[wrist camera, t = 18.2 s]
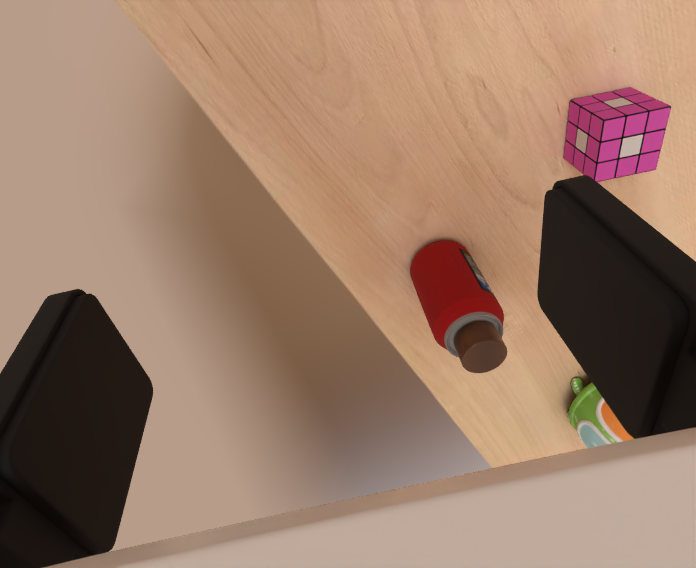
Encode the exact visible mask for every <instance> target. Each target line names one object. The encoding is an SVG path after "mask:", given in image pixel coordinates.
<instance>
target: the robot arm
mask: <svg viewBox="0 0 696 568" xmlns="http://www.w3.org/2000/svg"><path fill="white" fill-rule="evenodd" d="M538 301H539V304H540V307H541V309H542V310H543V312H544V313H545V315H546V316H547V318H548V319H549V321H550V322H551V323H552V325H553V326H554V328H555V329H556V331H557V332H558V334H559V335H560V337H561V338H562V339H563V341H564V342H565V344H566V345H567V347H568V348H569V350H570V351H571V352H572V354H573V355H574V357H575V358H576V360H577V361H578V363H579V364H580V365H581V367H582V368H583V370H584V371H585V373H586V374H587V376H588V377H589V378H590V380H591V381H592V383H593V384H594V386H595V387H596V389H597V390H598V392H599V393H600V394H601V396H602V397H603V399H604V400H605V402H606V403H607V405H608V406H609V407H610V409H611V410H612V412H613V413H614V415H615V416H616V418H617V419H618V420H619V422H620V423H621V425H622V426H623V428H624V429H625V430H626V432H627V433H628V434H629V435H630V436H632V437H639V438H638V439H633V440H628V441H622V442H617V443H612V444H607V445H602V446H597V447H592V448H587V449H582V450H577V451H572V452H568V453H563V454H558V455H553V456H549V457H544V458H539V459H535V460H530V461H525V462H520V463H516V464H511V465H506V466H502V467H497V468H492V469H487V470H483V471H478V472H473V473H468V474H464V475H460V476H454V477H450V478H445V479H440V480H435V481H431V482H427V483H422V484H417V485H412V486H408V487H403V488H399V489H394V490H389V491H384V492H380V493H375V494H371V495H366V496H361V497H357V498H352V499H347V500H343V501H338V502H334V503H329V504H324V505H320V506H315V507H311V508H306V509H301V510H297V511H293V512H288V513H283V514H279V515H274V516H270V517H265V518H260V519H256V520H251V521H246V522H242V523H237V524H233V525H228V526H224V527H219V528H215V529H210V530H206V531H202V532H197V533H192V534H188V535H183V536H179V537H174V538H170V539H165V540H161V541H157V542H152V543H147V544H143V545H138V546H134V547H130V548H125V549H121V550H116V551H111V552H109V551H110V550H111V549H112V548H113V546H114V544H115V541H116V537H117V533H118V529H119V526H120V522H121V517H122V514H123V509H124V506H125V502H126V498H127V494H128V490H129V487H130V483H131V479H132V475H133V471H134V467H135V462H136V459H137V455H138V451H139V447H140V443H141V440H142V436H143V432H144V428H145V424H146V420H147V416H148V412H149V408H150V404H151V400H152V396H153V387H152V383H151V380H150V378H149V377H148V375H147V374H146V372H145V371H144V369H143V368H142V366H141V365H140V363H139V362H138V360H137V359H136V357H135V356H134V354H133V353H132V351H131V349H130V348H129V346H128V345H127V343H126V342H125V340H124V339H123V337H122V336H121V334H120V333H119V331H118V330H117V328H116V327H115V325H114V324H113V322H112V321H111V319H110V318H109V316H108V315H107V313H106V312H105V310H104V309H103V307H102V305H101V304H100V303H99V301H98V299H97V298H96V297H95V296H94V295H92V294H86V293H85V292H84V291H82V290H80V289H76V290H71V291H67V292H62V293H58V294H54V295H50V296H48V297H47V298H46V299H45V301H44V302H43V304H42V306H41V307H40V309H39V311H38V312H37V314H36V315H35V317H34V319H33V320H32V322H31V324H30V325H29V327H28V329H27V330H26V332H25V334H24V335H23V337H22V339H21V340H20V342H19V344H18V345H17V347H16V349H15V350H14V352H13V353H12V355H11V357H10V358H9V360H8V362H7V364H6V365H5V367H4V369H3V370H2V372H1V374H0V568H696V262H695V261H694V260H693V259H692V258H690V257H689V256H688V255H687V254H685V253H684V252H683V251H682V250H680V249H679V248H678V247H677V246H675V245H674V244H673V243H672V242H671V241H669V240H668V239H667V238H666V237H664V236H663V235H662V234H661V233H659V232H658V231H657V230H656V229H654V228H653V227H652V226H651V225H649V224H648V223H647V222H646V221H644V220H643V219H642V218H641V217H640V216H638V215H637V214H636V213H635V212H633V211H632V210H631V209H630V208H628V207H627V206H626V205H625V204H623V203H622V202H621V201H620V200H618V199H617V198H616V197H615V196H613V195H612V194H611V193H610V192H609V191H607V190H606V189H605V188H604V187H602V186H601V185H600V184H599V183H597V182H596V181H595V180H594V179H592V178H591V177H590V176H588V175H583V176H578V177H574V178H569V179H565V180H560V181H557V182H556V183H555V184H554V186H553V189H552V190H549V191H547V192H546V194H545V200H544V213H543V226H542V239H541V253H540V266H539V279H538ZM106 552H107V553H106Z"/></svg>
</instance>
